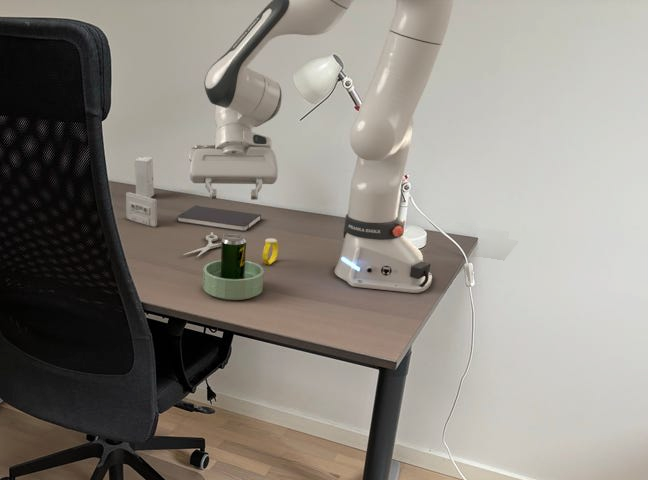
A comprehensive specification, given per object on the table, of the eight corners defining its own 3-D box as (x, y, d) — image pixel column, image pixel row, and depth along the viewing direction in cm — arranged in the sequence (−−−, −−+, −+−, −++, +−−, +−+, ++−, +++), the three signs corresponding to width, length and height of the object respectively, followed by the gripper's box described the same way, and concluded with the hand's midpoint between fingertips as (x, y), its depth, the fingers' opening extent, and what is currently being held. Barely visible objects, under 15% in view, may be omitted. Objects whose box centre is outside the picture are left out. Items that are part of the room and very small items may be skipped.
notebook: (260, 219, 216) (194, 210, 224) (261, 214, 215) (194, 205, 223) (245, 231, 206) (176, 221, 214) (245, 226, 205) (176, 216, 213)
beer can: (218, 291, 165) (220, 239, 159) (221, 282, 169) (223, 231, 164) (242, 292, 164) (245, 240, 158) (245, 284, 169) (247, 233, 163)
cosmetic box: (148, 199, 235) (147, 161, 229) (135, 198, 236) (134, 160, 230) (154, 194, 240) (153, 157, 234) (141, 193, 241) (140, 156, 235)
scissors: (245, 239, 197) (206, 259, 182) (245, 241, 198) (206, 262, 183) (211, 232, 202) (170, 251, 187) (211, 235, 203) (170, 254, 188)
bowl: (271, 285, 170) (272, 265, 167) (249, 306, 159) (250, 284, 157) (217, 276, 175) (218, 255, 173) (193, 295, 164) (193, 273, 162)
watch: (270, 258, 186) (271, 235, 184) (280, 260, 185) (281, 237, 182) (259, 265, 182) (260, 242, 179) (269, 267, 180) (271, 244, 178)
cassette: (158, 226, 210) (158, 199, 206) (153, 227, 209) (153, 200, 205) (129, 217, 217) (129, 191, 213) (125, 218, 216) (124, 192, 212)
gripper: (189, 137, 170) (188, 190, 166) (277, 138, 170) (279, 191, 166) (189, 153, 176) (188, 204, 172) (274, 154, 176) (276, 205, 172)
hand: (233, 198), depth 169 cm, fingers open, 8 cm apart
